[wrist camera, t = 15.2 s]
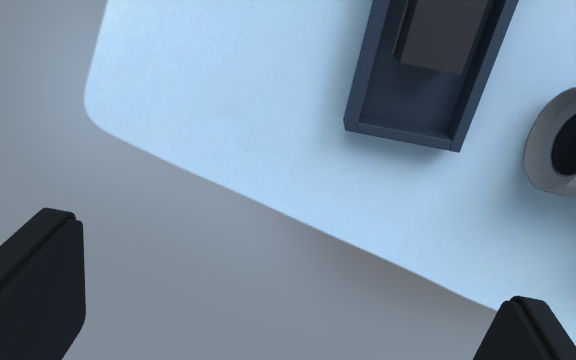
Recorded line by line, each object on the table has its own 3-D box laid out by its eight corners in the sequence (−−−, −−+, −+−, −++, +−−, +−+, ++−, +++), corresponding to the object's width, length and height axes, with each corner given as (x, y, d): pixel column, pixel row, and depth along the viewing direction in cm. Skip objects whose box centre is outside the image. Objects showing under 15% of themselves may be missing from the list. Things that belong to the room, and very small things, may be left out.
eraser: (391, 53, 32) (399, 63, 29) (426, -71, 29) (439, -75, 25) (447, 64, 32) (461, 75, 29) (489, -58, 29) (510, -61, 26)
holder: (343, 119, 35) (344, 130, 33) (420, -188, 26) (429, -201, 24) (450, 140, 35) (459, 152, 33) (562, -157, 27) (584, -168, 24)
